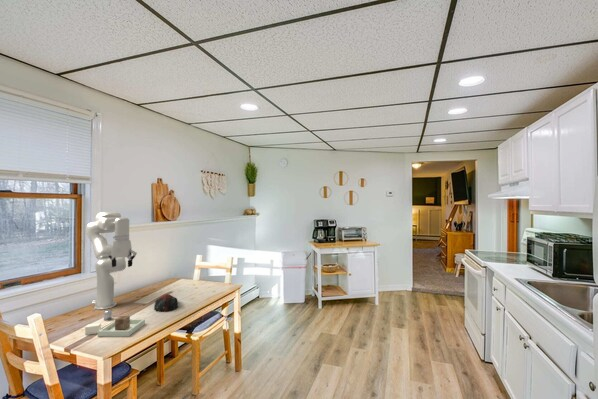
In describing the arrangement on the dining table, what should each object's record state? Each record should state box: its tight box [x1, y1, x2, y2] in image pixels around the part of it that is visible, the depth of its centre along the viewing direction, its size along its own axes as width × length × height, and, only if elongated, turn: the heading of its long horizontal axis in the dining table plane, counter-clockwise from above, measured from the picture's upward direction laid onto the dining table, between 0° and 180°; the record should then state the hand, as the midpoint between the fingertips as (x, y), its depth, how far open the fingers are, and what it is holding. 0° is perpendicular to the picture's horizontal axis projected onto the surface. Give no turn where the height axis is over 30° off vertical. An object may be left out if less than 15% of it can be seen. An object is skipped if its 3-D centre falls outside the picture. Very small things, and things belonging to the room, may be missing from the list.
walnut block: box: [114, 315, 131, 331], centre depth 160 cm, size 5×5×6 cm
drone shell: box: [153, 293, 179, 313], centre depth 198 cm, size 21×20×8 cm
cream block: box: [84, 322, 102, 336], centre depth 158 cm, size 6×4×4 cm, turn 109°
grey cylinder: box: [103, 309, 113, 321], centre depth 176 cm, size 4×4×5 cm
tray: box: [97, 318, 146, 337], centre depth 160 cm, size 16×16×3 cm
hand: (122, 266), depth 180 cm, fingers open, 9 cm apart
